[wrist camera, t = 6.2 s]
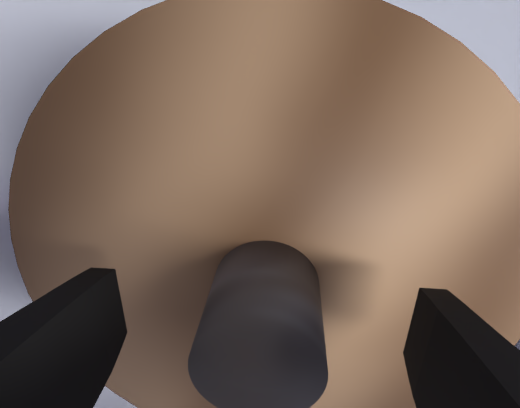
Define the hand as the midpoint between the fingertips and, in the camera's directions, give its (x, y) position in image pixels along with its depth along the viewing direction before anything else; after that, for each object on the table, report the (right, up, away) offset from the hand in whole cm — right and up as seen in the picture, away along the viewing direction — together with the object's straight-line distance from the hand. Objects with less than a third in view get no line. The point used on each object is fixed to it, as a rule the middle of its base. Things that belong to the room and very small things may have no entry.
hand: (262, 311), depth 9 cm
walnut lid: (0, +1, +2) cm, 2 cm away
